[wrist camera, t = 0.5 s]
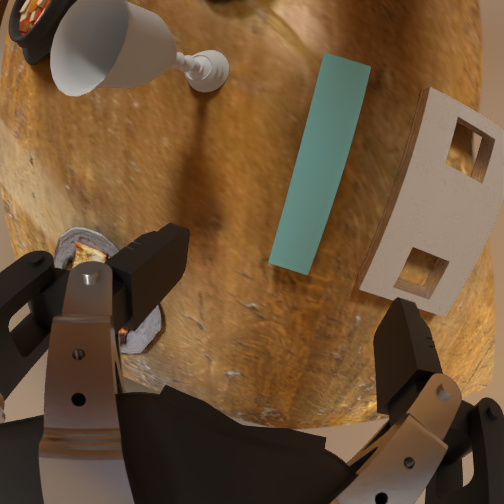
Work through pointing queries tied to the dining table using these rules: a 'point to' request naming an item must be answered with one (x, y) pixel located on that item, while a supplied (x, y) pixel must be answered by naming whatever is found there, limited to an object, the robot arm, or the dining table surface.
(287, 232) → the strip bar
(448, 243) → the plate
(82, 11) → the chalice
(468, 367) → the dining table surface
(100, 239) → the food plate
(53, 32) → the casserole
